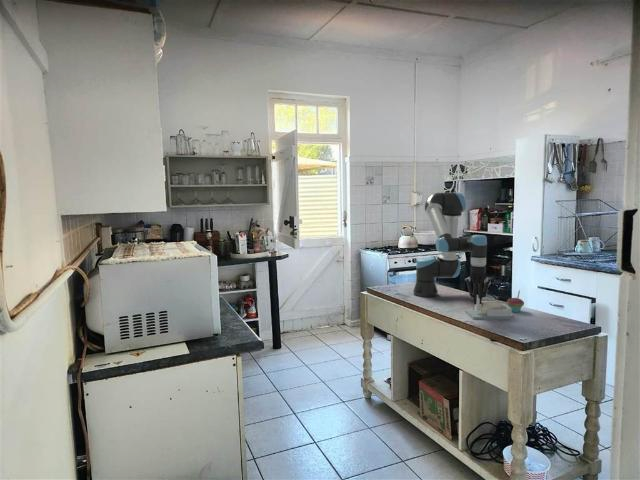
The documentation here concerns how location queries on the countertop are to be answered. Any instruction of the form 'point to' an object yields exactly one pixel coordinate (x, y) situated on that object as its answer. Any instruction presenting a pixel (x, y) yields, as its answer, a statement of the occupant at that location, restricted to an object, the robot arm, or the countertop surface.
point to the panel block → (489, 306)
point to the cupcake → (515, 303)
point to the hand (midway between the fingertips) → (477, 310)
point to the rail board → (480, 316)
